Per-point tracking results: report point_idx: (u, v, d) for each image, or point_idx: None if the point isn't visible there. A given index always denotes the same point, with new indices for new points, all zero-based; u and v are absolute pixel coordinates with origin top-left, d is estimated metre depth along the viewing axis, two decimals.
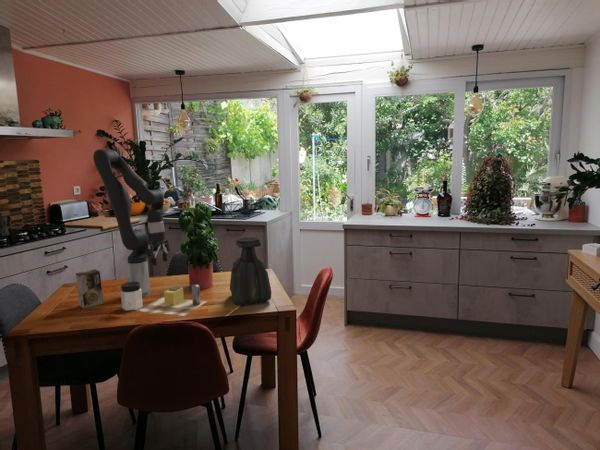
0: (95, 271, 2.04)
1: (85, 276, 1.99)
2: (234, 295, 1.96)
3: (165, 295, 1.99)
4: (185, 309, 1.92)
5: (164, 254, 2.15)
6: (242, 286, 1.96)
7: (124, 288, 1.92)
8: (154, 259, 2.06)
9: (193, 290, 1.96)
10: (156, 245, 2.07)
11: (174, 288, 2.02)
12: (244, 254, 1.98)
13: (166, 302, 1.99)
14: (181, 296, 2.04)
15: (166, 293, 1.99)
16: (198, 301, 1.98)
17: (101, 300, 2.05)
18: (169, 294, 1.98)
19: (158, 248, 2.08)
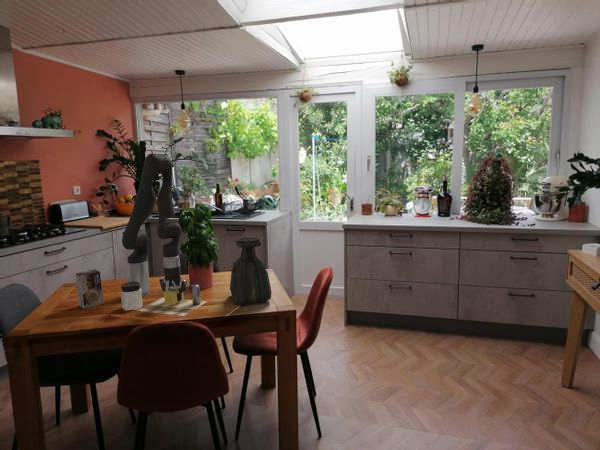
0: (95, 271, 2.04)
1: (85, 276, 1.99)
2: (234, 295, 1.96)
3: (165, 295, 1.99)
4: (185, 309, 1.92)
5: None
6: (242, 286, 1.96)
7: (124, 288, 1.92)
8: None
9: (193, 290, 1.96)
10: None
11: (174, 288, 2.02)
12: (244, 254, 1.98)
13: (166, 302, 1.99)
14: None
15: (166, 293, 1.99)
16: (198, 301, 1.98)
17: (101, 300, 2.05)
18: (169, 294, 1.98)
19: None
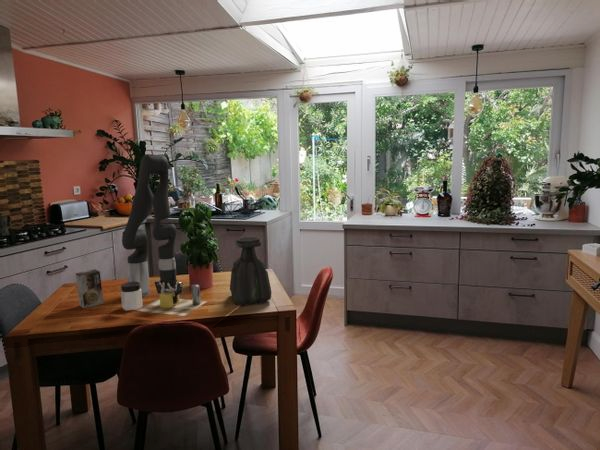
0: (95, 271, 2.04)
1: (85, 276, 1.99)
2: (234, 295, 1.96)
3: (161, 297, 1.95)
4: (185, 309, 1.92)
5: None
6: (242, 286, 1.96)
7: (124, 288, 1.92)
8: None
9: (193, 290, 1.96)
10: None
11: None
12: (244, 254, 1.98)
13: (162, 305, 1.96)
14: None
15: (162, 295, 1.95)
16: (198, 301, 1.98)
17: (101, 300, 2.05)
18: (164, 296, 1.95)
19: None
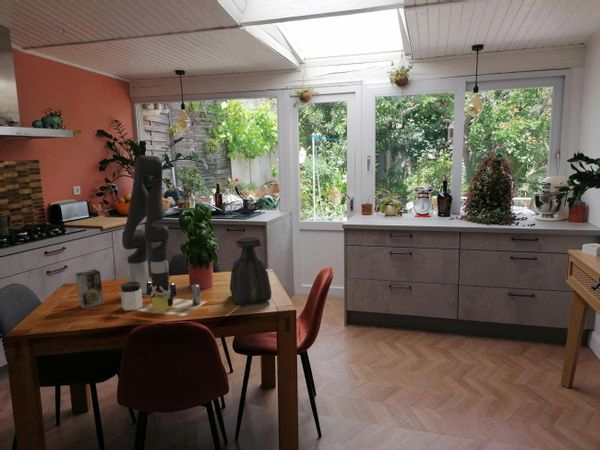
0: (95, 271, 2.04)
1: (85, 276, 1.99)
2: (234, 295, 1.96)
3: (153, 301, 1.91)
4: (185, 309, 1.92)
5: (154, 296, 1.95)
6: (242, 286, 1.96)
7: (124, 288, 1.92)
8: None
9: (193, 290, 1.96)
10: None
11: (162, 294, 1.94)
12: (244, 254, 1.98)
13: (154, 308, 1.91)
14: None
15: (154, 299, 1.90)
16: (198, 301, 1.98)
17: (101, 300, 2.05)
18: (157, 300, 1.90)
19: None
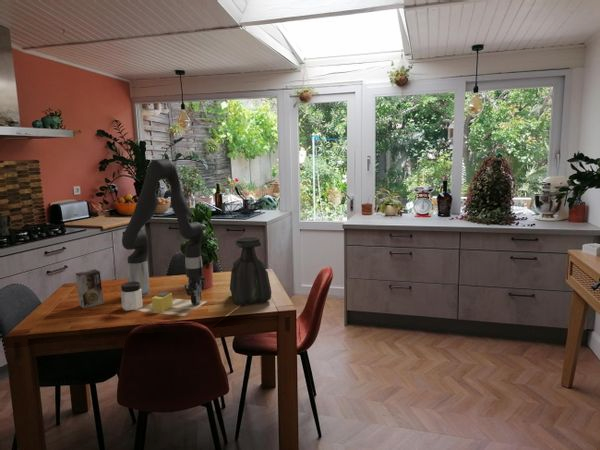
0: (95, 271, 2.04)
1: (85, 276, 1.99)
2: (234, 295, 1.96)
3: (153, 301, 1.91)
4: (185, 309, 1.92)
5: None
6: (242, 286, 1.96)
7: (124, 288, 1.92)
8: None
9: None
10: None
11: (162, 294, 1.94)
12: (244, 254, 1.98)
13: (154, 308, 1.91)
14: (170, 302, 1.96)
15: (154, 299, 1.90)
16: (198, 301, 1.97)
17: (101, 300, 2.05)
18: (157, 300, 1.90)
19: None
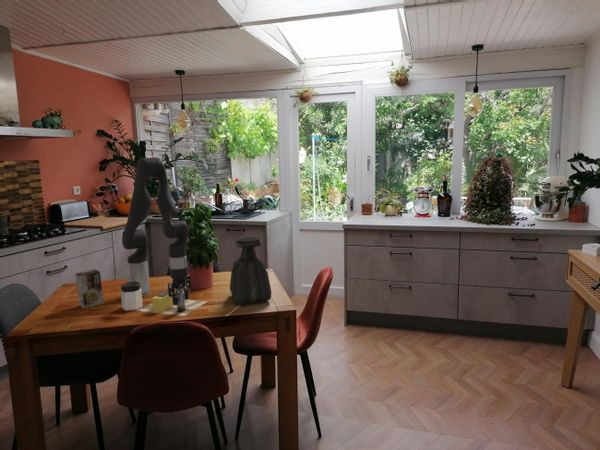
0: (95, 271, 2.04)
1: (85, 276, 1.99)
2: (234, 295, 1.96)
3: (153, 301, 1.91)
4: None
5: None
6: (242, 286, 1.96)
7: (124, 288, 1.92)
8: None
9: (177, 296, 1.88)
10: None
11: (162, 294, 1.94)
12: (244, 254, 1.98)
13: (154, 308, 1.91)
14: (170, 302, 1.96)
15: (154, 299, 1.90)
16: (183, 307, 1.90)
17: (101, 300, 2.05)
18: (157, 300, 1.90)
19: None
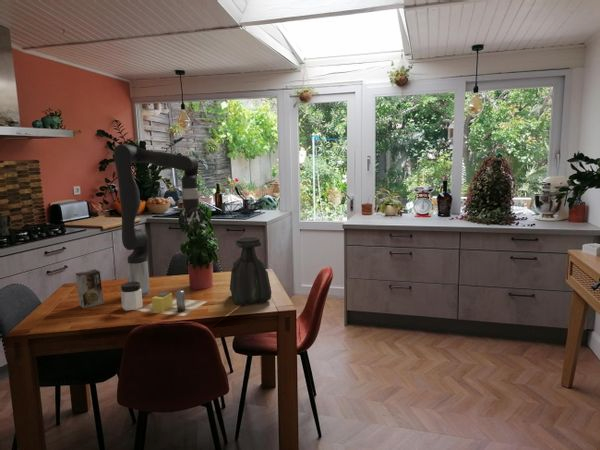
0: (95, 271, 2.04)
1: (85, 276, 1.99)
2: (234, 295, 1.96)
3: (153, 301, 1.91)
4: None
5: None
6: (242, 286, 1.96)
7: (124, 288, 1.92)
8: None
9: (177, 296, 1.88)
10: None
11: (162, 294, 1.94)
12: (244, 254, 1.98)
13: (154, 308, 1.91)
14: (170, 302, 1.96)
15: (154, 299, 1.90)
16: (183, 307, 1.90)
17: (101, 300, 2.05)
18: (157, 300, 1.90)
19: None
